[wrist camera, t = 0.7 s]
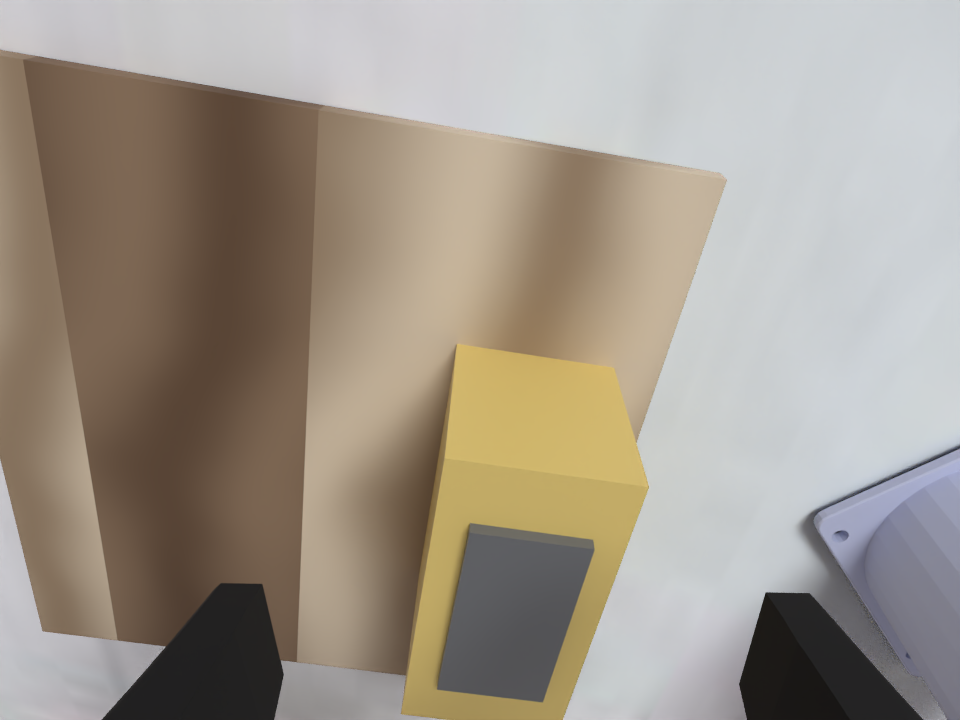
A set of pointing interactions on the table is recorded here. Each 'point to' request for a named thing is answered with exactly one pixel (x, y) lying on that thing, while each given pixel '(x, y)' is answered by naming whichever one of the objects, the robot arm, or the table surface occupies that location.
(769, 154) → the table surface
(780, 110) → the table surface
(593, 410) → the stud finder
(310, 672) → the table surface
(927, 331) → the table surface
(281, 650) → the subfloor board
